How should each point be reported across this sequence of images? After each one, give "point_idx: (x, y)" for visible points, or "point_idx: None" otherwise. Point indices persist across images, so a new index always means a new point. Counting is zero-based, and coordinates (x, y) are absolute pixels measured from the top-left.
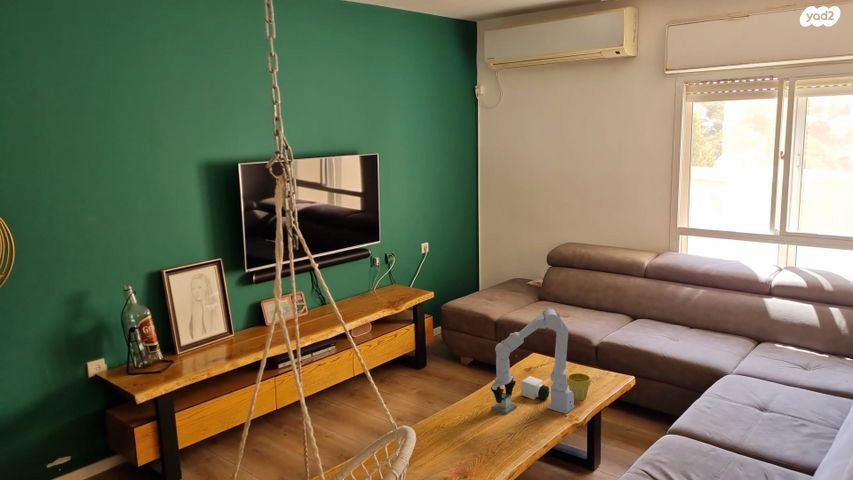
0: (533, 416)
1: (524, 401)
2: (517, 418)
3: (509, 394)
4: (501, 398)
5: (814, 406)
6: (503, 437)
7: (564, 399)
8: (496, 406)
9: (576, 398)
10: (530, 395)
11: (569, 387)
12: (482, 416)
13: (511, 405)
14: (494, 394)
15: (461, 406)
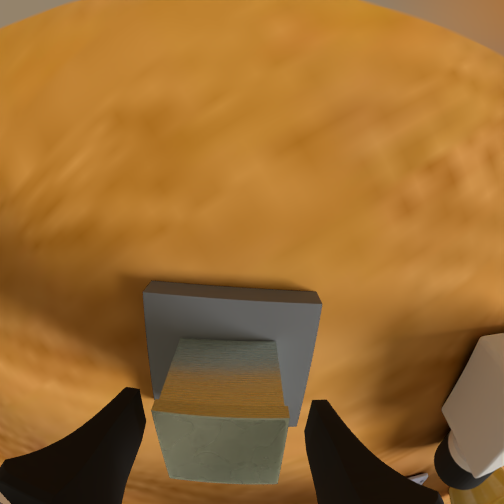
0: (241, 489)
1: (410, 390)
2: None
3: (276, 473)
4: (126, 463)
5: None
6: (12, 435)
7: None
8: (181, 325)
9: (451, 492)
10: (457, 407)
11: (480, 501)
12: (37, 277)
13: None
14: (67, 442)
15: (83, 29)
